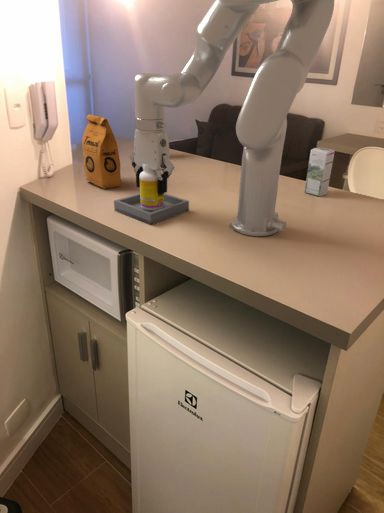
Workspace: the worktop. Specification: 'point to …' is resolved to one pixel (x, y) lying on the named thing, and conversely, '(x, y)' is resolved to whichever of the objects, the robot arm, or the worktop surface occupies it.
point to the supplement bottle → (150, 190)
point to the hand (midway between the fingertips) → (151, 189)
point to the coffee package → (101, 153)
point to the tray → (134, 210)
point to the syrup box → (319, 171)
